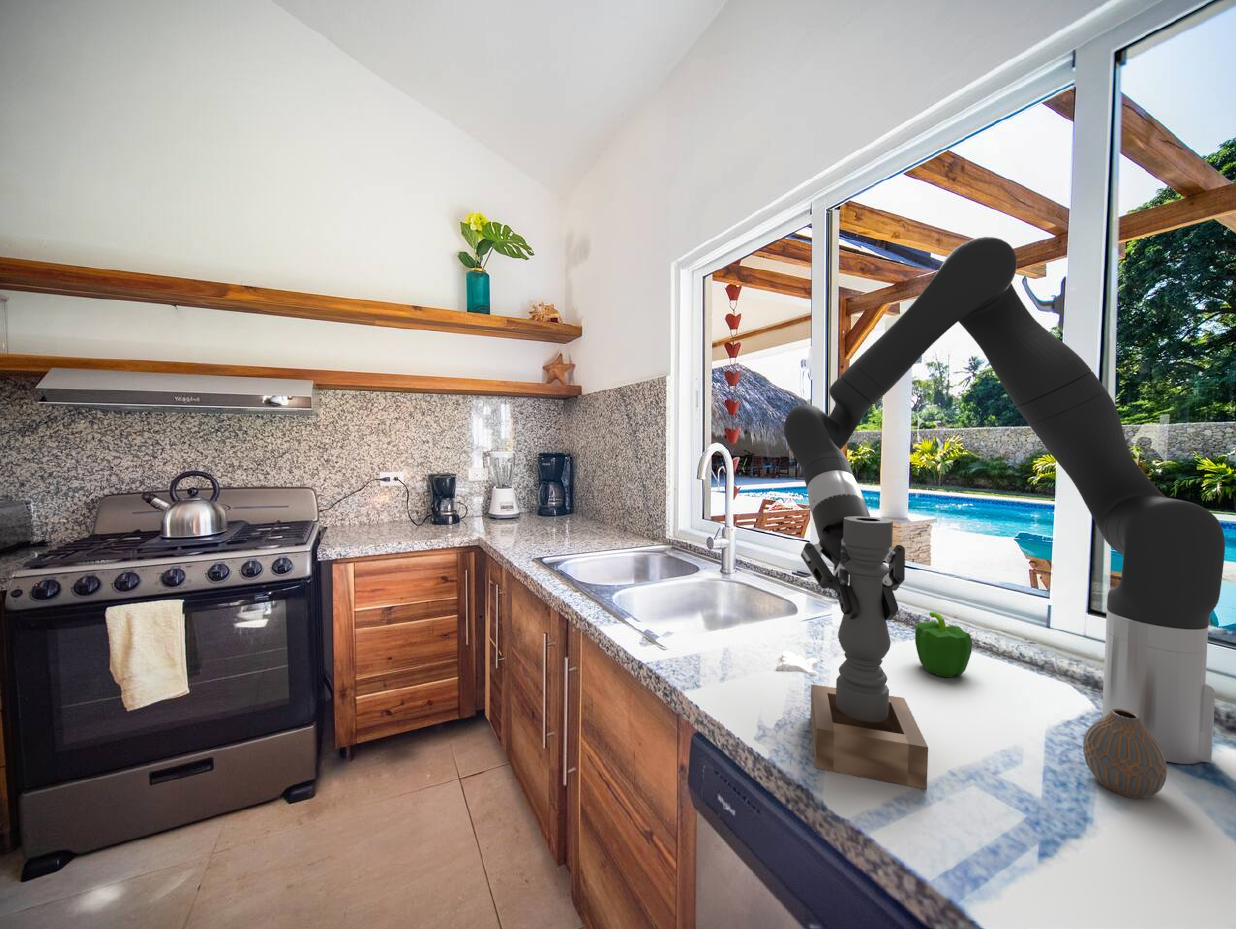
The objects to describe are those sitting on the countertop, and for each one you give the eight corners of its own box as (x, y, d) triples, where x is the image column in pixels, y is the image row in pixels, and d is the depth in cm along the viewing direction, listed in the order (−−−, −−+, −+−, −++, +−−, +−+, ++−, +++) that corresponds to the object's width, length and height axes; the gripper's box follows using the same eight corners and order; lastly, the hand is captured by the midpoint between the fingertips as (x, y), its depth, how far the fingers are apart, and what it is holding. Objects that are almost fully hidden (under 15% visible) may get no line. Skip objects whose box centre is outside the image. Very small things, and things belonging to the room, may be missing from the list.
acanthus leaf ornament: (776, 674, 89) (776, 663, 89) (777, 658, 95) (777, 649, 95) (822, 680, 86) (822, 669, 86) (820, 664, 93) (820, 654, 93)
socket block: (903, 733, 69) (904, 697, 69) (926, 789, 58) (928, 747, 58) (810, 717, 73) (811, 684, 73) (815, 767, 62) (816, 728, 62)
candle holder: (833, 714, 64) (840, 520, 63) (837, 692, 70) (843, 514, 69) (888, 727, 61) (896, 525, 60) (887, 704, 67) (894, 518, 66)
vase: (1079, 760, 64) (1082, 693, 63) (1158, 784, 59) (1162, 711, 59) (1084, 789, 58) (1087, 715, 58) (1171, 817, 54) (1175, 737, 54)
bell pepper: (979, 684, 84) (981, 626, 83) (925, 679, 86) (927, 622, 85) (956, 663, 92) (958, 609, 92) (907, 659, 94) (909, 606, 93)
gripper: (795, 491, 72) (822, 601, 61) (896, 493, 71) (944, 604, 60) (784, 522, 78) (807, 628, 66) (878, 524, 77) (918, 631, 65)
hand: (872, 616), depth 63 cm, fingers closed on candle holder, 4 cm apart
